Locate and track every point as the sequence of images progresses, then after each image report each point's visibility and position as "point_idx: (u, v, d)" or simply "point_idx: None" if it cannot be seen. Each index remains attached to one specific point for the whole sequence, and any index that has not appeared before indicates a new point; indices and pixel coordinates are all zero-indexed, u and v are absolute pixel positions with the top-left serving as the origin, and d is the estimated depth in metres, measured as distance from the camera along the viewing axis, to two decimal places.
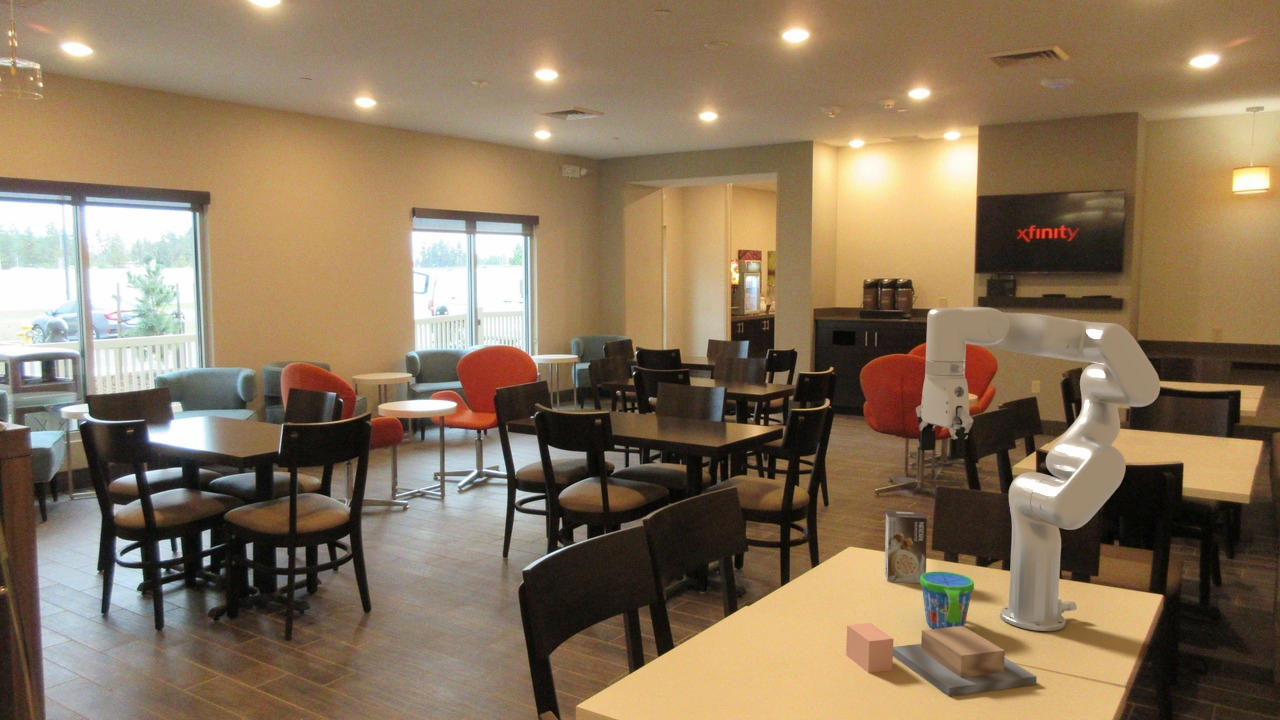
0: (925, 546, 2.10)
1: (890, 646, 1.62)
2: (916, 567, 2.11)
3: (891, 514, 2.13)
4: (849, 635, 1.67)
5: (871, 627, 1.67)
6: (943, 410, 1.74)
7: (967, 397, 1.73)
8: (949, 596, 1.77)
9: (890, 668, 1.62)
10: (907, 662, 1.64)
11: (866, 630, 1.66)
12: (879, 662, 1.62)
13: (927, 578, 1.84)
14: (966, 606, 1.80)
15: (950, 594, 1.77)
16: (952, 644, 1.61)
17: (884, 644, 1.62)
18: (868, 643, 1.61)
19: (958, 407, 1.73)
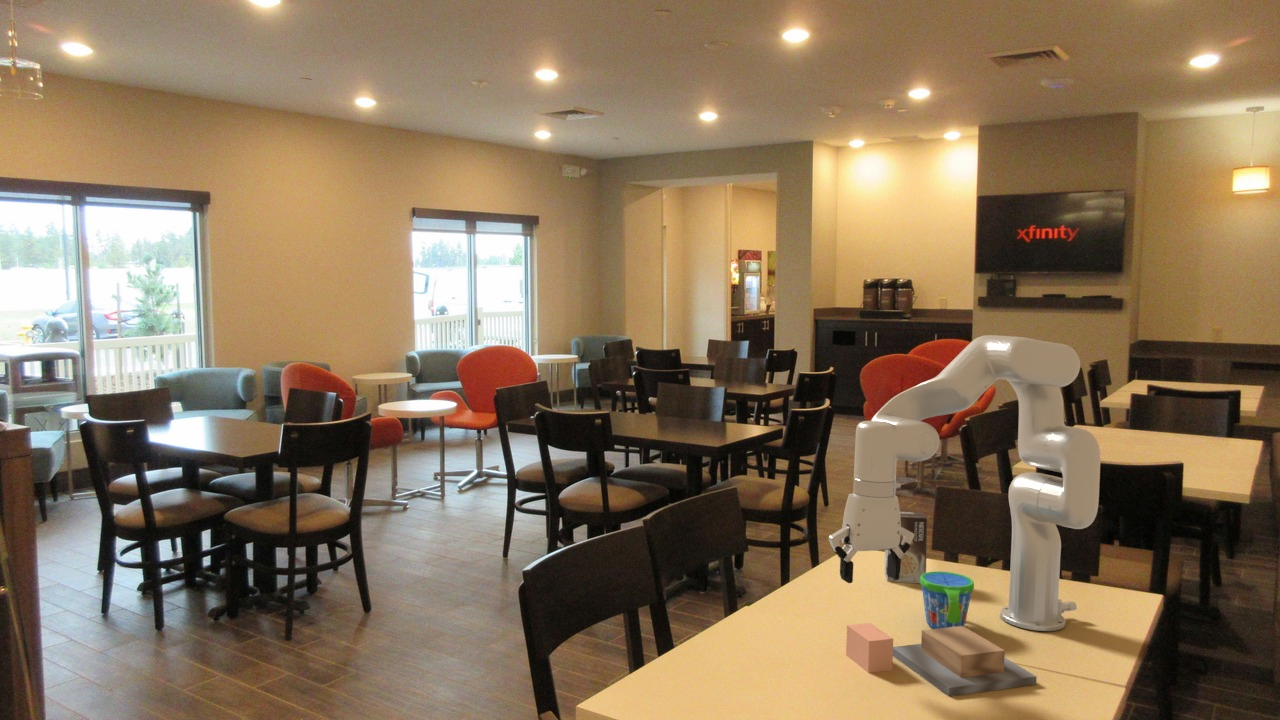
0: (925, 546, 2.10)
1: (890, 646, 1.62)
2: (916, 567, 2.11)
3: None
4: (849, 635, 1.67)
5: (871, 627, 1.67)
6: (894, 531, 1.62)
7: None
8: (949, 596, 1.77)
9: (890, 668, 1.62)
10: (907, 662, 1.64)
11: (866, 630, 1.66)
12: (879, 662, 1.62)
13: (927, 578, 1.84)
14: (966, 606, 1.80)
15: (950, 594, 1.77)
16: (952, 644, 1.61)
17: (884, 644, 1.62)
18: (868, 643, 1.61)
19: None
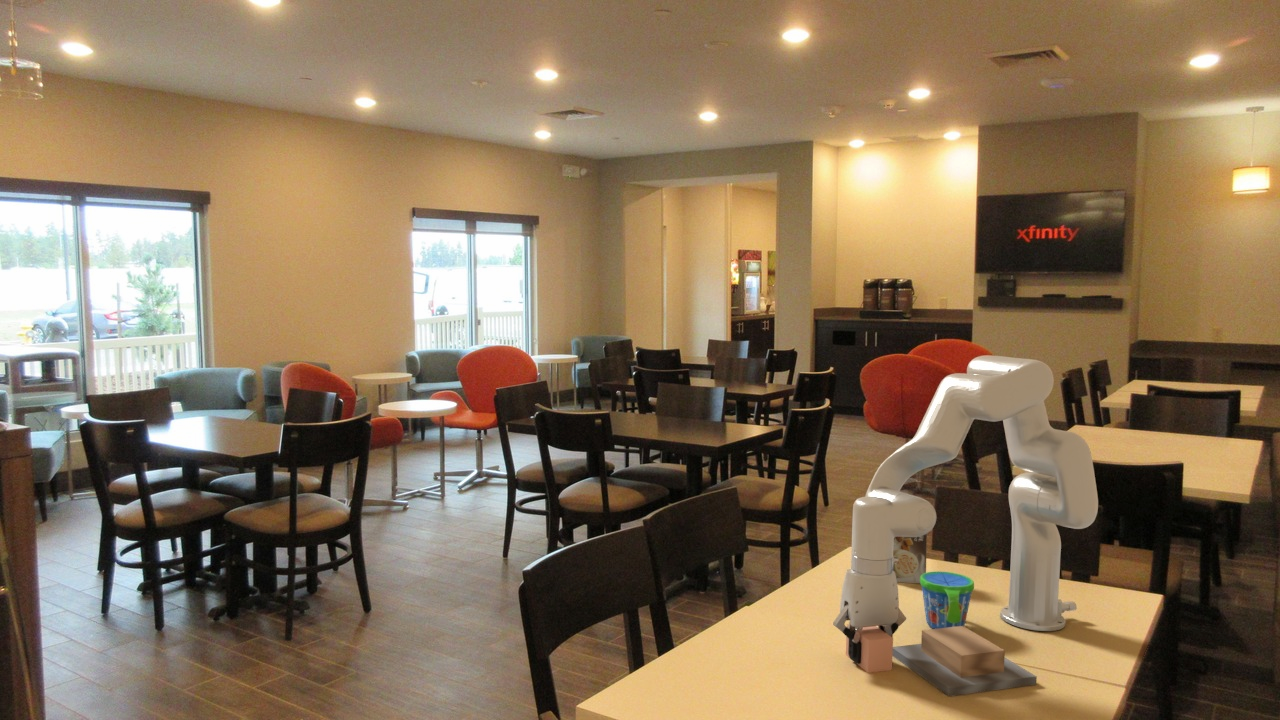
0: (925, 546, 2.10)
1: (890, 645, 1.62)
2: (916, 567, 2.11)
3: None
4: None
5: (871, 626, 1.67)
6: (892, 607, 1.64)
7: None
8: (949, 596, 1.77)
9: (890, 667, 1.62)
10: (907, 662, 1.64)
11: (866, 630, 1.66)
12: (879, 661, 1.62)
13: (927, 578, 1.84)
14: (966, 606, 1.80)
15: (950, 594, 1.77)
16: (952, 644, 1.61)
17: (884, 643, 1.62)
18: (868, 643, 1.61)
19: None
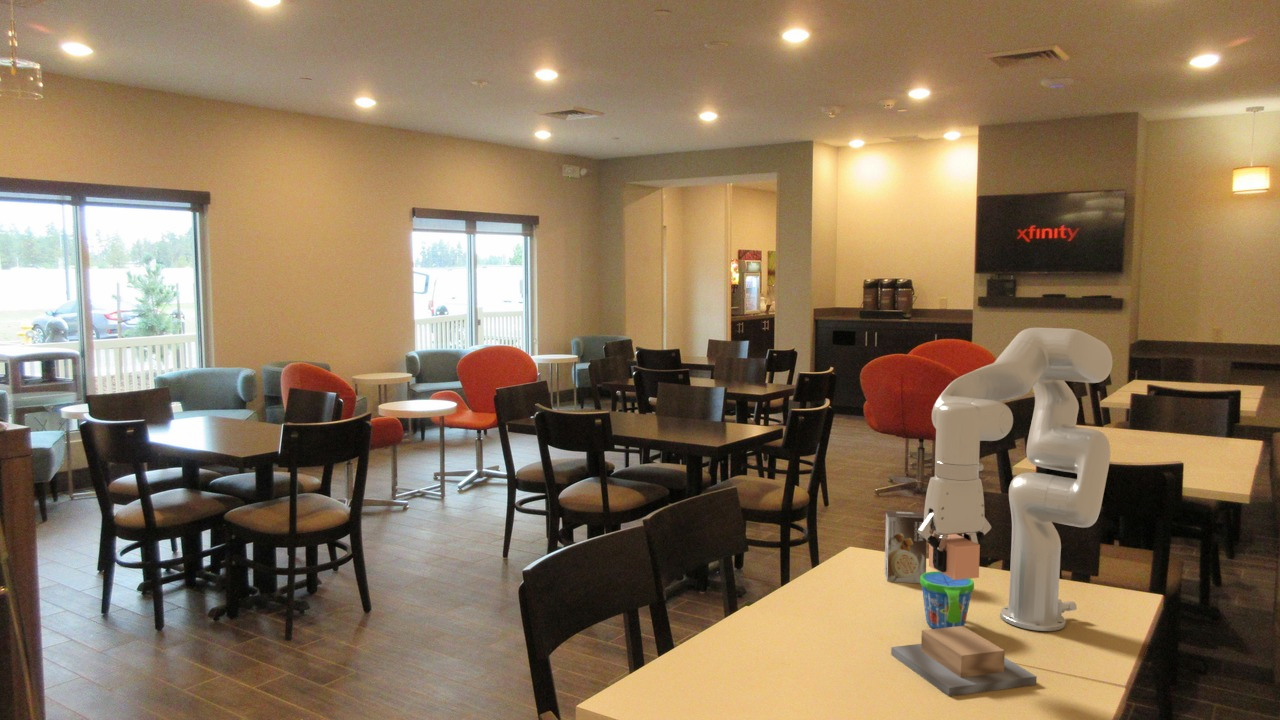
0: (925, 546, 2.10)
1: (976, 552, 1.58)
2: (916, 567, 2.11)
3: (891, 514, 2.13)
4: None
5: (955, 536, 1.64)
6: (978, 514, 1.60)
7: None
8: (949, 596, 1.77)
9: (976, 575, 1.59)
10: (907, 662, 1.64)
11: (950, 539, 1.62)
12: (966, 568, 1.58)
13: (927, 578, 1.84)
14: (966, 606, 1.80)
15: (950, 594, 1.77)
16: (952, 644, 1.61)
17: (971, 550, 1.58)
18: (955, 549, 1.57)
19: None
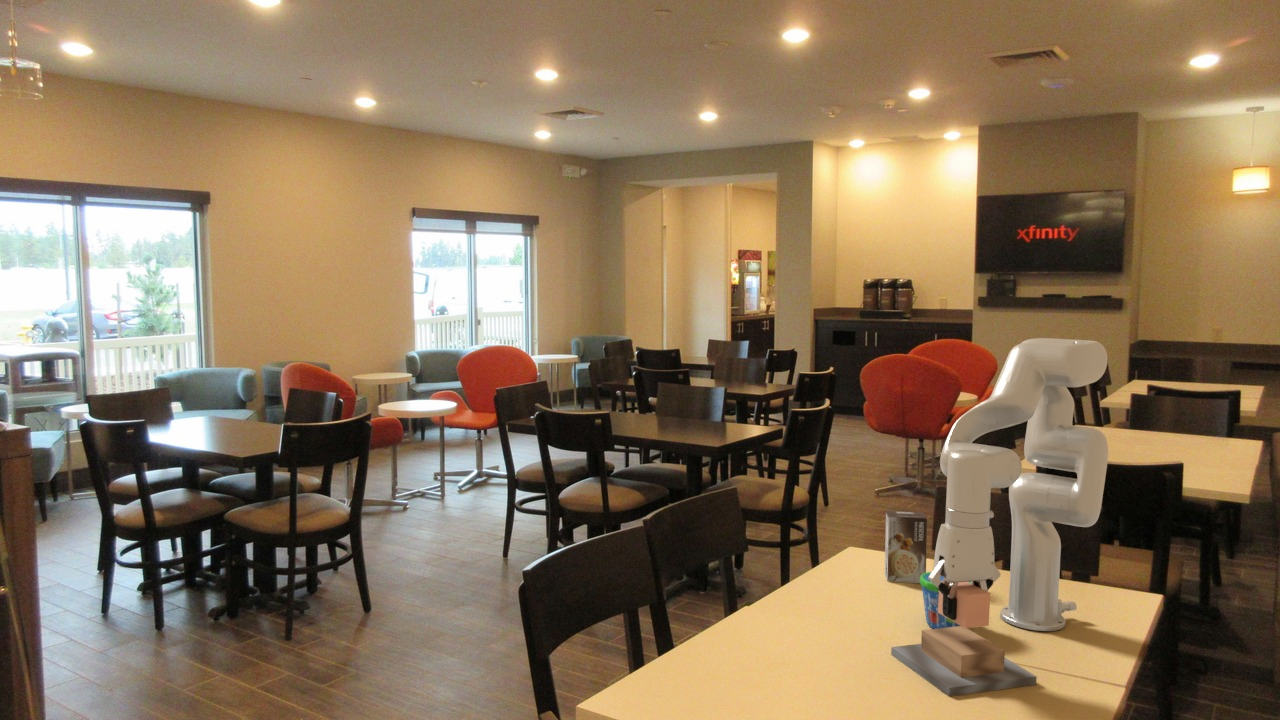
0: (925, 546, 2.10)
1: (987, 601, 1.59)
2: (916, 567, 2.11)
3: (891, 514, 2.13)
4: None
5: (964, 583, 1.64)
6: (988, 562, 1.60)
7: None
8: None
9: (986, 623, 1.59)
10: (907, 662, 1.64)
11: (960, 586, 1.62)
12: (976, 617, 1.58)
13: (927, 578, 1.84)
14: None
15: None
16: (952, 644, 1.61)
17: (981, 598, 1.58)
18: (965, 597, 1.57)
19: None
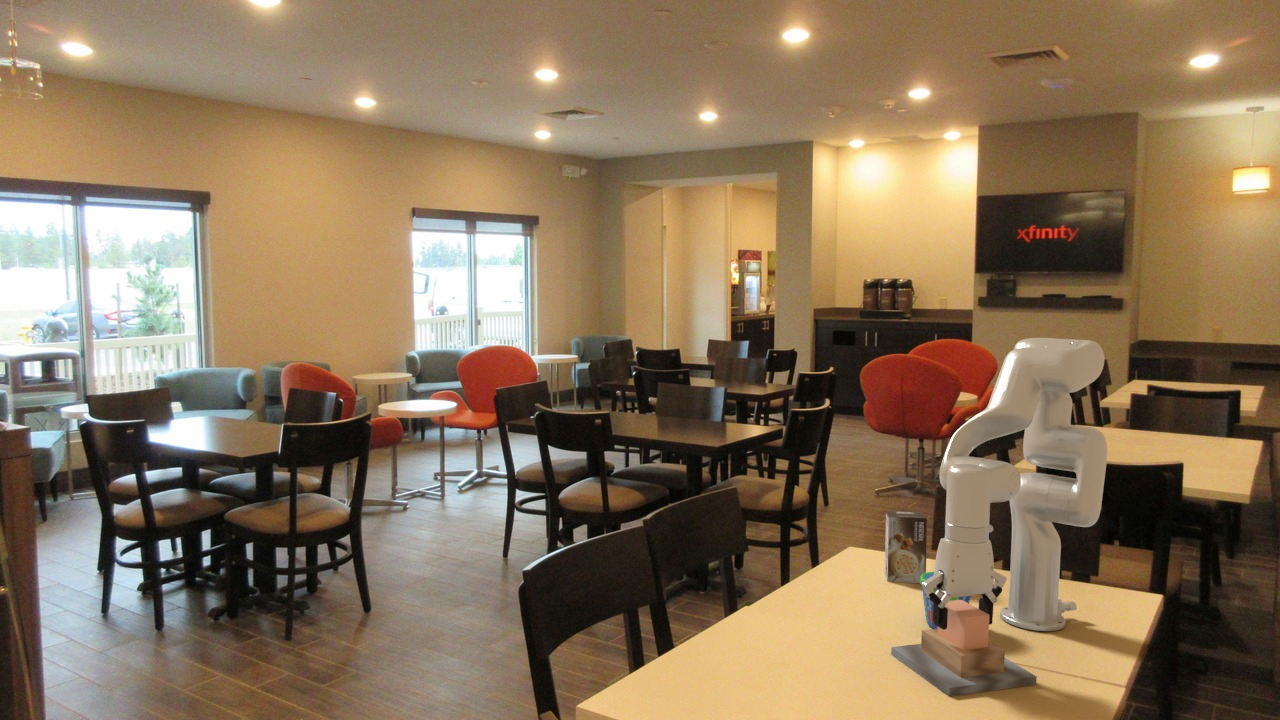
0: (925, 546, 2.10)
1: (986, 622, 1.59)
2: (916, 567, 2.11)
3: (891, 514, 2.13)
4: None
5: (963, 604, 1.64)
6: (987, 576, 1.60)
7: None
8: None
9: (986, 645, 1.59)
10: (907, 662, 1.64)
11: (959, 607, 1.63)
12: (975, 638, 1.59)
13: (927, 578, 1.84)
14: None
15: None
16: (952, 644, 1.61)
17: (981, 620, 1.59)
18: (965, 619, 1.58)
19: None
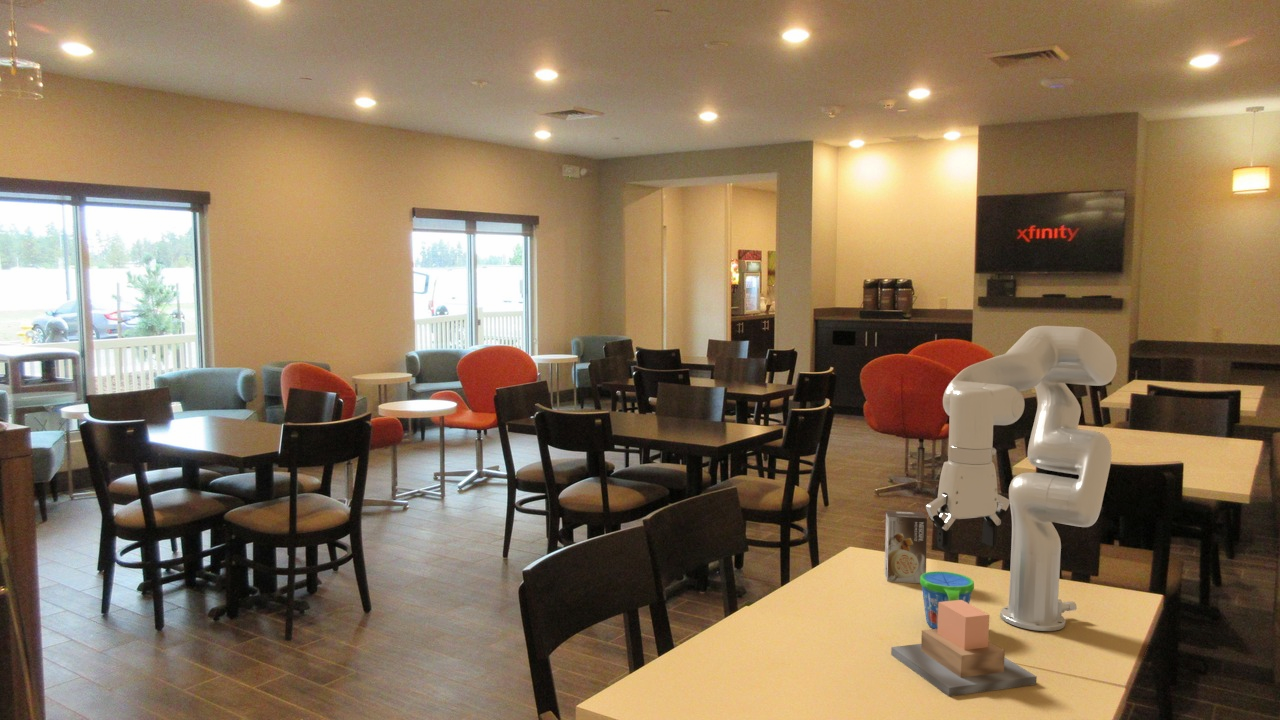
0: (925, 546, 2.10)
1: (986, 622, 1.59)
2: (916, 567, 2.11)
3: (891, 514, 2.13)
4: (941, 612, 1.64)
5: (963, 604, 1.64)
6: (991, 498, 1.61)
7: None
8: (949, 596, 1.77)
9: (986, 645, 1.59)
10: (907, 662, 1.64)
11: (959, 607, 1.63)
12: (975, 638, 1.59)
13: (927, 578, 1.84)
14: None
15: (950, 594, 1.77)
16: (952, 644, 1.61)
17: (981, 620, 1.59)
18: (965, 619, 1.58)
19: None
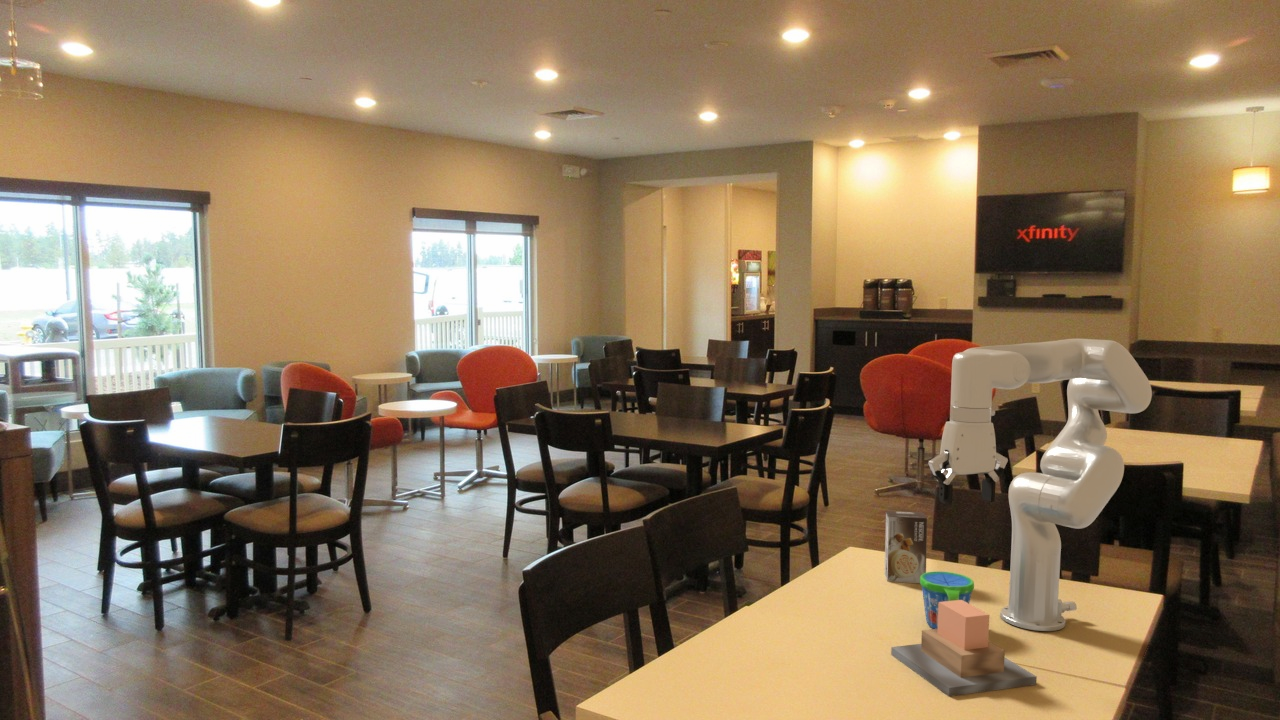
0: (925, 546, 2.10)
1: (986, 622, 1.59)
2: (916, 567, 2.11)
3: (891, 514, 2.13)
4: (941, 612, 1.64)
5: (963, 604, 1.64)
6: (990, 456, 1.72)
7: None
8: (949, 596, 1.77)
9: (986, 645, 1.59)
10: (907, 662, 1.64)
11: (959, 607, 1.63)
12: (975, 638, 1.59)
13: (927, 578, 1.84)
14: None
15: (950, 594, 1.77)
16: (952, 644, 1.61)
17: (981, 620, 1.59)
18: (965, 619, 1.58)
19: None
